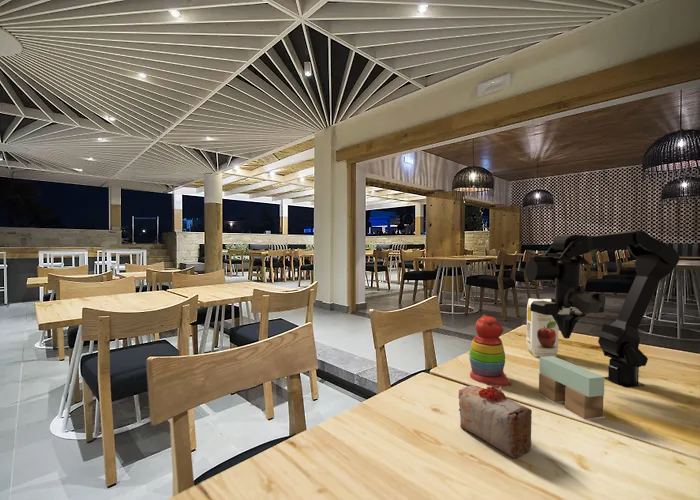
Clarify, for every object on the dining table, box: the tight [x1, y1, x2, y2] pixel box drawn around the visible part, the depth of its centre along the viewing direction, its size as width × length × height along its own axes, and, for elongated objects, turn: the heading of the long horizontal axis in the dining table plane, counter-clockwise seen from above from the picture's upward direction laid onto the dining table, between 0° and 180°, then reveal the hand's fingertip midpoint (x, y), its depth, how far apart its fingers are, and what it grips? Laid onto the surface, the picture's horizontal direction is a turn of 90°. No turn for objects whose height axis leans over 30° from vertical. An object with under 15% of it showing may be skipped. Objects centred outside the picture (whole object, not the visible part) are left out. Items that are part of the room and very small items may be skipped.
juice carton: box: [526, 297, 559, 358], centre depth 118 cm, size 8×9×19 cm
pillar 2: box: [564, 386, 605, 420], centre depth 77 cm, size 5×5×5 cm
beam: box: [539, 356, 606, 397], centre depth 81 cm, size 14×4×4 cm, turn 12°
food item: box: [458, 385, 533, 459], centre depth 68 cm, size 14×8×10 cm, turn 30°
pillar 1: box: [538, 372, 566, 403], centre depth 85 cm, size 5×5×5 cm
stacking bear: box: [469, 314, 511, 388], centre depth 96 cm, size 11×10×18 cm
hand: (566, 338), depth 94 cm, fingers closed
